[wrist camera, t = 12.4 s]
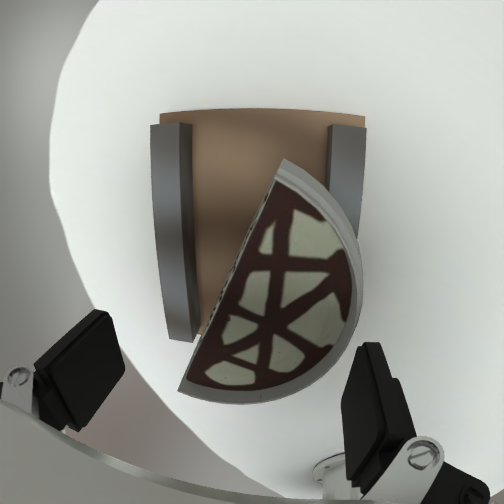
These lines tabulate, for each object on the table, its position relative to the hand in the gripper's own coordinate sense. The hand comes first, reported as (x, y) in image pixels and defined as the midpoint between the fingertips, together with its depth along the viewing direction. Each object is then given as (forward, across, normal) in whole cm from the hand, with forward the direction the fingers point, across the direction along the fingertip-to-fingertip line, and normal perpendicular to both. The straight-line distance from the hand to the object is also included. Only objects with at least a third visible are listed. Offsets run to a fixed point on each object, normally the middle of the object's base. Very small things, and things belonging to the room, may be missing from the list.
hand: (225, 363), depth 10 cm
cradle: (+13, +1, -1) cm, 13 cm away
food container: (+12, -2, 0) cm, 12 cm away
